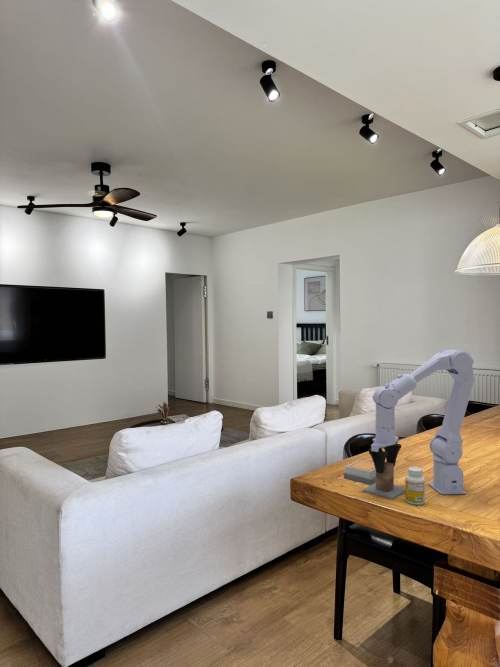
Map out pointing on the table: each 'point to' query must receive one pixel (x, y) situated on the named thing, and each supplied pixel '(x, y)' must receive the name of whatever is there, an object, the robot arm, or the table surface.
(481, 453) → the table surface
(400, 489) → the rubber mat
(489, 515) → the table surface
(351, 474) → the switch panel
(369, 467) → the button
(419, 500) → the supplement bottle
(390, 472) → the brown wooden beam
